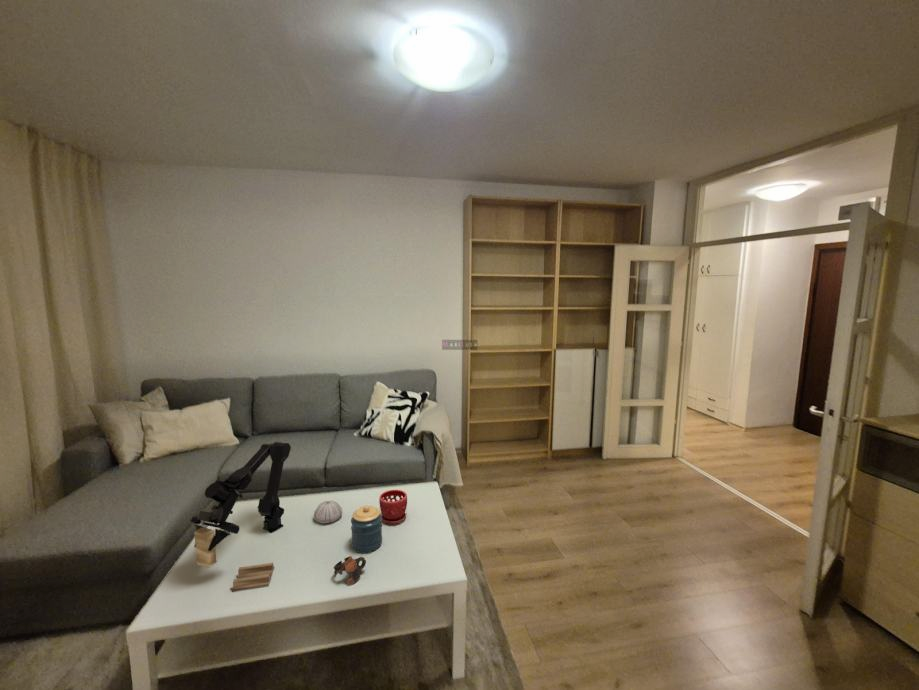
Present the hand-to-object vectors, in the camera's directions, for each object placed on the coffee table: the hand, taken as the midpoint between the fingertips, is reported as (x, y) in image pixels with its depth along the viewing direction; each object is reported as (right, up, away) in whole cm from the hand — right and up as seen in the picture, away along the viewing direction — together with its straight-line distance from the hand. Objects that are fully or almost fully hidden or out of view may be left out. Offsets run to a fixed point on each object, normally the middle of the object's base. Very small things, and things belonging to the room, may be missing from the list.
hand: (202, 549), depth 146 cm
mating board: (+18, -13, +3) cm, 22 cm away
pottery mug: (+54, -13, +5) cm, 55 cm away
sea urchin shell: (+32, -8, +44) cm, 55 cm away
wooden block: (0, -6, +2) cm, 7 cm away
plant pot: (+64, -8, +44) cm, 78 cm away
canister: (+55, -11, +25) cm, 61 cm away
